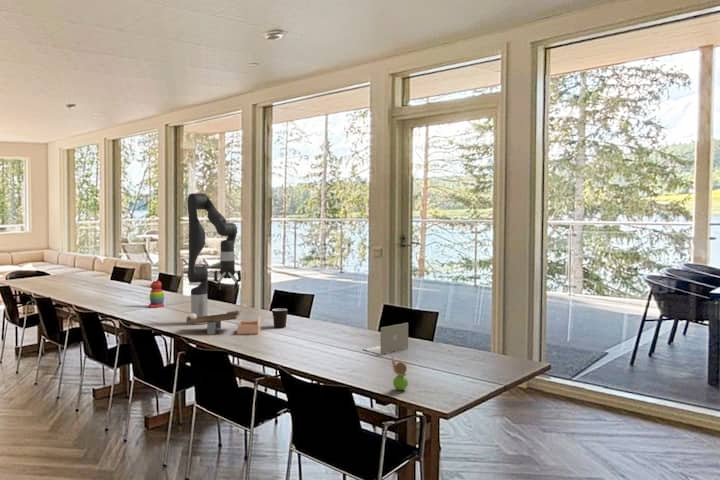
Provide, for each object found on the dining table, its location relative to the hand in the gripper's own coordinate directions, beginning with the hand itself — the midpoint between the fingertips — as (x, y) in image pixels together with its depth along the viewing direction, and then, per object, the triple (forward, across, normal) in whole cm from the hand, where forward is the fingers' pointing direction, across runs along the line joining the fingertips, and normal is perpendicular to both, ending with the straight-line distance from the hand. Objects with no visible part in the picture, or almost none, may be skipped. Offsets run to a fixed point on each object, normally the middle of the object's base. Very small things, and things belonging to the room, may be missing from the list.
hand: (227, 289), depth 317 cm
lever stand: (+23, +7, +2) cm, 24 cm away
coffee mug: (+23, -28, -10) cm, 37 cm away
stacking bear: (+23, +64, -80) cm, 105 cm away
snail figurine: (+23, -83, +106) cm, 137 cm away
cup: (+23, -12, +5) cm, 26 cm away
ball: (+14, +18, +5) cm, 23 cm away
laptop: (+23, -83, +44) cm, 97 cm away
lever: (+17, +7, +2) cm, 18 cm away
